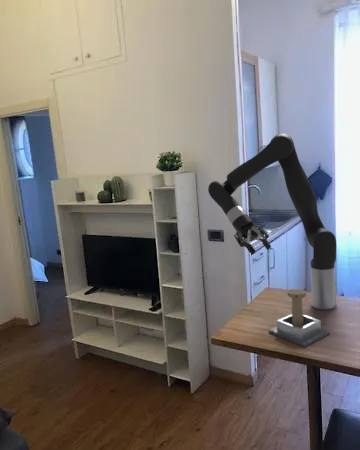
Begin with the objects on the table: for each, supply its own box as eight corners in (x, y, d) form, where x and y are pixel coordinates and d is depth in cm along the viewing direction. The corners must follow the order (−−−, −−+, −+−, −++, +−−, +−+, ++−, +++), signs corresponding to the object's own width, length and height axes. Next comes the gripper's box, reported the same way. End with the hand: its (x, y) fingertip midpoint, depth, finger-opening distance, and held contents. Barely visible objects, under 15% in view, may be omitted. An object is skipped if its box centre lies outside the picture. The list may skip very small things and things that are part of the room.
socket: (294, 320, 153) (293, 308, 152) (329, 334, 140) (329, 321, 139) (269, 332, 145) (268, 319, 145) (304, 347, 132) (303, 333, 131)
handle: (307, 334, 139) (305, 294, 137) (288, 332, 141) (286, 294, 139) (307, 328, 144) (306, 289, 141) (289, 327, 146) (287, 289, 143)
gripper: (230, 216, 152) (253, 249, 145) (256, 210, 160) (279, 241, 153) (222, 228, 158) (244, 260, 150) (247, 222, 166) (269, 252, 158)
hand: (261, 250), depth 152 cm, fingers open, 8 cm apart
